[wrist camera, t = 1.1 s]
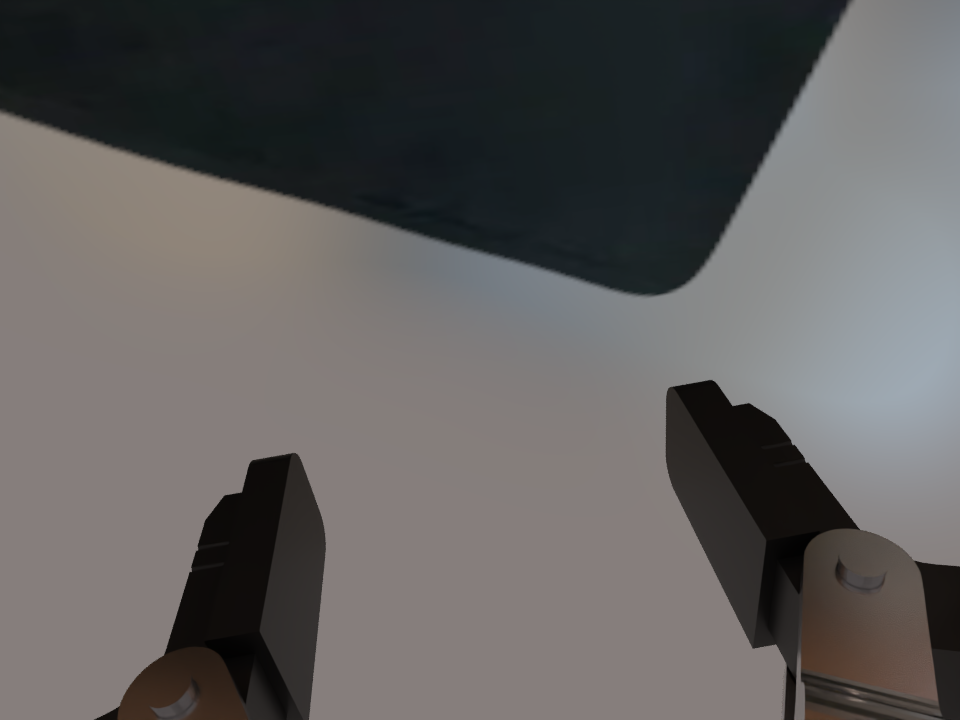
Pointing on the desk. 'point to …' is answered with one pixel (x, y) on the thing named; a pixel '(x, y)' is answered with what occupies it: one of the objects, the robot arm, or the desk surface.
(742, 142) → the desk surface
